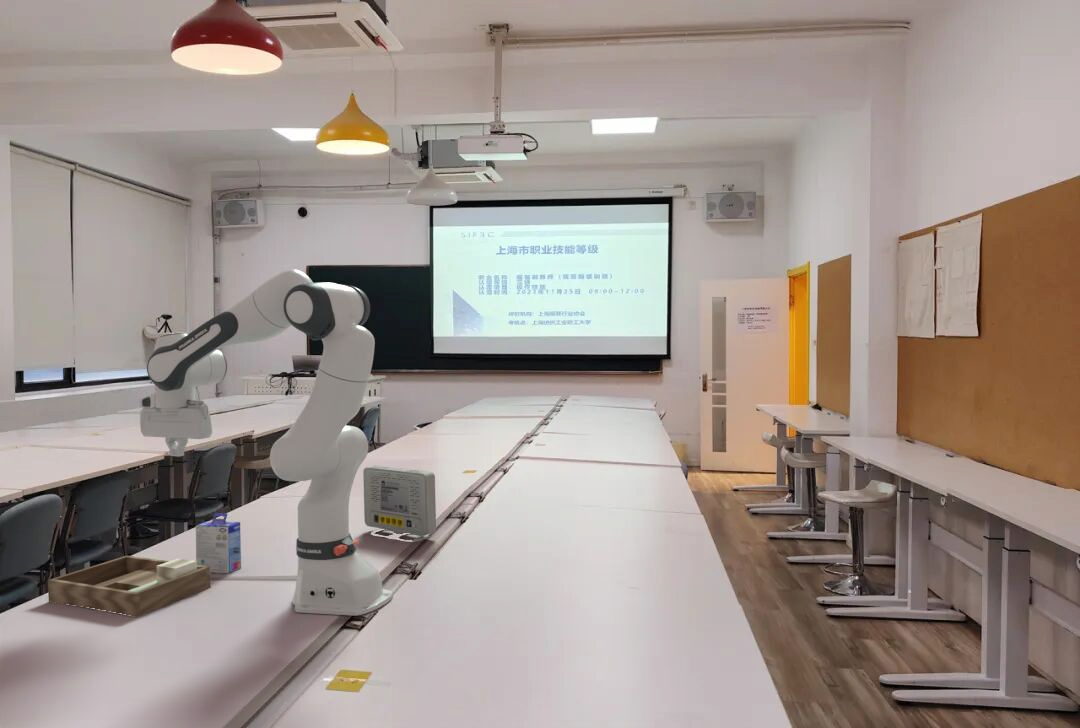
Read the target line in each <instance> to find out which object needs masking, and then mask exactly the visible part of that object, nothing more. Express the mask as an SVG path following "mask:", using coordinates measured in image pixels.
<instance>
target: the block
mask: <svg viewBox="0 0 1080 728" xmlns="http://www.w3.org/2000/svg"><path fill="white" fill-rule="evenodd" d="M168 561H169V562H166V563H163V564H160V565H158V566H157V583H163V582H165V581H168V580H171V579H173V578H176V577H179V576H182V575H184V574H187V573H190V572H192V571H195V570H197V561H196V560H192V559H186V558H185V559H184V558H176V559H172V560H168Z"/></svg>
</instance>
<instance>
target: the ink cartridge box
mask: <svg viewBox="0 0 1080 728" xmlns="http://www.w3.org/2000/svg"><path fill="white" fill-rule="evenodd" d="M220 516H221V517H223V518H217V517H220ZM227 518H228V513H226V512H215V513H214V515H213V518H212V520H210V521H204V522H202V523H199V524H196V525H195V561H197V565H201V566H209V567H210V573H216V574H230V573H232V572H235V571H237V570H240V569H242V547H241V546H242V545H241V543H242V540H241V522H240V521H227Z"/></svg>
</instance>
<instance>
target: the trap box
mask: <svg viewBox="0 0 1080 728" xmlns="http://www.w3.org/2000/svg"><path fill="white" fill-rule="evenodd" d="M169 561H170V560H162V559H155V558H148V557H139V556H133V555H132V556H131V555H124V556H121V557H117V558H115V559H111V560H108V561H104V562H103V563H99V564H95V565H92V566H89V567H88V566H87V567H86V568H82V569H79V570H75V571H73V572H69V573H67V574H64V575H61V576H57V577H55V578H54V577H53V578H50V579H48V580H47V593H48V596H47V597H48V602H49V603H53V602H56V603H55V604H59V603H63V604H62V605H64V604H69V605H68V606H70V605H76V606H83V607H89V608H95V609H100V610H106V611H111V612H116V613H122V614H126V615H125V616H127V615H131V616H130V617H132V616H136V617H135V618H138V617H140V615H141V616H143V615H145V613H146V614H148V613H151V612H153V611H155V610H159V609H160V608H163V607H165V606H167V605H170V604H172V603H175V602H177V601H180V600H182V599H186V598H188V597H190V596H192V595H194V594H197V593H200V592H202V591H204V590H207V589H209V588H211V572H210V567H209V566H201V565H197V570H195V571H192V572H190V573H187V574H184V575H182V576H179V577H176V578H173V579H171V580H168V581H165V582H163V583H157V566H158V565H160V564H163V563H166V562H169ZM50 601H51V602H50ZM76 606H75V607H76ZM150 611H151V612H150ZM137 616H138V617H137Z"/></svg>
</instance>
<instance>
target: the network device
mask: <svg viewBox="0 0 1080 728" xmlns="http://www.w3.org/2000/svg"><path fill="white" fill-rule="evenodd" d="M362 474H363V475H362V477H363V505H364V506H363V511H364V513H363V514H364V515H363V516H364V523H365V525H366V527H370V528H377V529H387V530H386V531H392V530H393V533H396V534H403V533H410V534H409V535H416V536H419V537H416V538H413V540H412V539H411V540H412V541H413V542H412V543H419V542H420V541H424V540H426V539H429V536H430V535H431V534H434V533H435V532H436V530H437V515H436V514H437V510H436V509H437V508H436V505H437V503H436V502H437V501H436V476H435V473H434V472H433V471H429V470H419V469H411V468H401V467H400V468H399V467H392V466H383V465H372V466H371V465H370V466H368V467H364V468H363V473H362Z"/></svg>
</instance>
